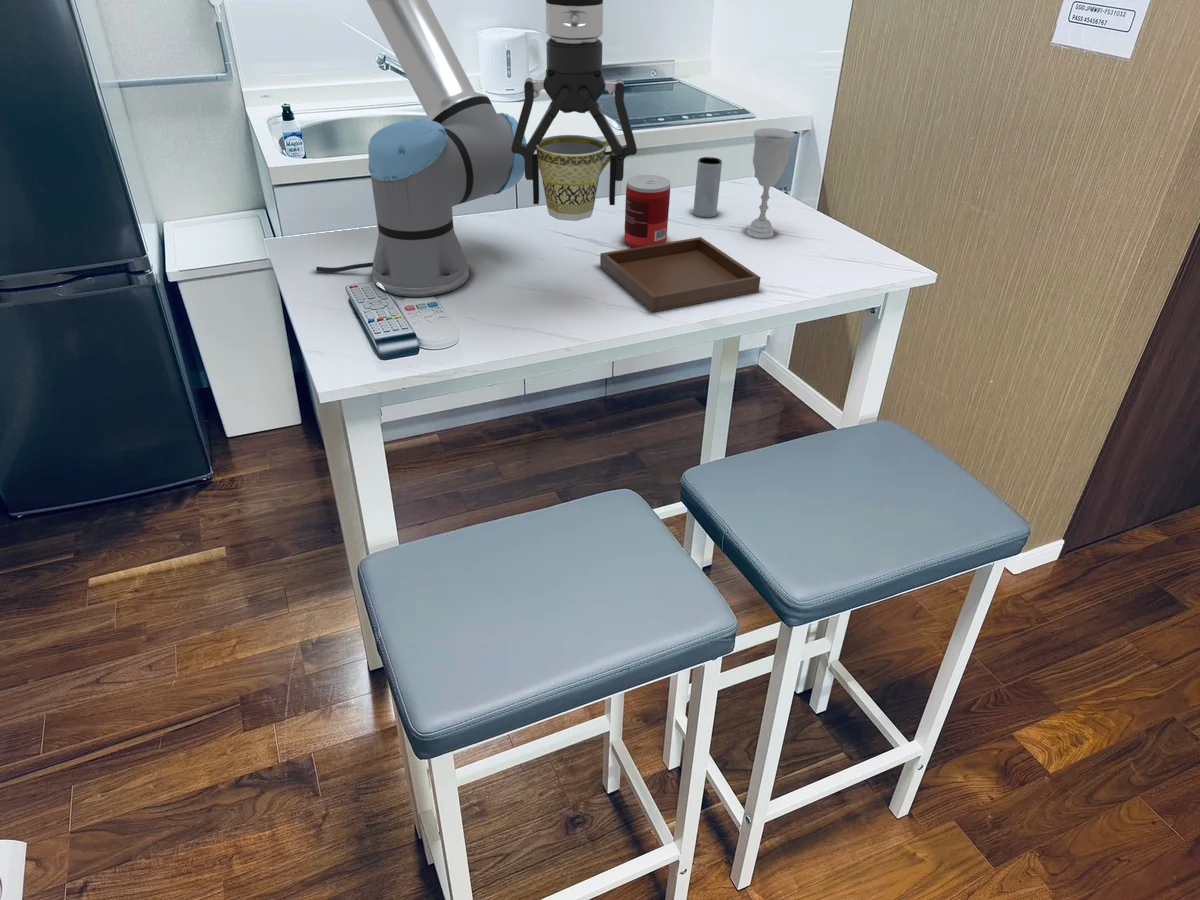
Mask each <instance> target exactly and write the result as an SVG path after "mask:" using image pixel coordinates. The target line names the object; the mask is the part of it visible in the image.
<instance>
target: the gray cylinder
mask: <svg viewBox="0 0 1200 900" xmlns="http://www.w3.org/2000/svg"><path fill="white" fill-rule="evenodd" d="M722 164H723V160H722V159H720V158H718V157H713V156H703V157H700V158H698V160H697V168H696V177H695V178H696V179H695V189H694V201H693V210H692V211H693V212H692V213H693V215H694V216H696V217H700V218H713V217H715V216H717V212H718V205H719V193H720V184H721V175H722V167H723V165H722Z"/></svg>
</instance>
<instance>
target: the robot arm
mask: <svg viewBox="0 0 1200 900" xmlns="http://www.w3.org/2000/svg"><path fill="white" fill-rule="evenodd" d="M366 2H367V4H368V7H369V8H370V10H371V12H372V14H373V15H374V17H375V20H376V21H377V23H378V25H379V27H380V28H381V31H382V32H383V35H384V37H385V38H386V40H387V42H388V44H389V46H390V49H392V51H393V53H394V55H395V57H396V59H397V61H398V63H399V65H400V67H401V68H402V70H403V72H404V74H405V76H406V77H407V80H408V82H409V84H410V85H411V88H412V89H413V91H414V93H415V94H416V97H417V99H418V101H419V102H420V104H421V107H422V108H423V111H424V112H425V114H426V116H427V119H413V120H411V121H408V120H402V121H399V122H394V123H392V124H389V125H387V126H384V127H382V128H380V129H378V130H377V131H375V132H374V134H373V135H372V136H371V137H370V139H369V142H368V146H367V151H368V167H367V168H368V171H369V174H370V178H371V186H372V194H373V200H374V209H375V216H376V224H377V230H378V236H377V242H376V247H375V250H374V251H375V252H374V257H373V261H371V262H364V263H363V262H362V263H356V264H350V265H349V264H348V265H345V266H338V267H325V266H316V267H315V270H316V272H323V273H339V272H345V271H351V270H356V269H364V268H372V270H371V273H372V280H373V284H374V283H377V282H379V283H381V284H382V285H383V286H384V288H385V290H386V291H387V292H388V293H387V292H386V293H387V294H391V295H396V296H399V297H408V298H409V297H411V298H412V297H413V298H414V297H415V298H418V297H419V298H420V297H422V298H423V297H431V296H438V295H442V294H446V293H449V292H451V291H454V290H456V289H458V288H460V287H461V286H463V285H464V284H465V283H466V282H467V281H468V279H469V264H468V261H467V258H466V256H465V254H464V251H463V248H462V247H461V244H460V242H459V238H458V237H457V234H456V231H455V228H454V217H453V207H455V206H458V205H461V204H466V203H468V202H471V201H474V200H478V199H481V198H484V197H487V196H491V195H498V194H500V193H502V192H504V191H505V190H508V189H511V188H513V187H515V186H516V185H517V184H518V183H519V182H520V181H521V180H522V178H523V176H524V177H525V180H526V181H532V197H533V199H532V203H533V205H539V204H540V179H539V178H540V168H539V163H538V158H537V153H535V152H536V145H539V144H540V142H541V140H542V139H544V138H545V135H546V134H547V132H548V130H549V128H550V127H551V125H552V124H553V122H554V120H555V119H556V117H557V116H558V114H559V112H562V113H563V114H570V113H573V112H575V113H578V114H586V113H588V112H589V113H590V115H591V116H592V118H593V120H594V121H595V123H596V125H597V127H598V129H599V130H600V132H601V133H602V135H603V137H604V139H605V141H607V142H608V144H609V146H608V147H610V150H611V149H612V151H613V153H614V155H610V154H609V156H610V162H609V187H608V188H609V191H608V192H609V193H608V201H609V206H616V182H623V179H624V172H625V171H624V170H625V169H624V168H625V159H626V158H627V157H629V156H635V155H636V154H637V152H638V149H637V143H636V140H635V137H634V133H633V129H632V125H631V122H630V119H629V115H628V111H627V107H626V104H625V100H624V99H625V83H624V81H623V80H622V79H621V78H618V79H616V80H615V81H613V80H605V79H604V77H603V42H602V41H601V40H600V39H599V38H600V37H601V36H602V35H603V34H604V33H603V32H604V0H545V17H546V18H545V27H546V28H545V31H546V32H545V34H547V35H548V37H549V38H548V39H547V41H546V46H545V47H546V75H545V77H544V79H532V78H531V77H528V78H525V80H524V85H523V86H524V87H523V90H524V99H523V100H524V101H523V104H522V108H521V111H520V115H519V118H518V120H517V119H516V118H515V117H514V116H511V115H509V114H508V113H504V112H498V113H497V111H496V109H495V106H494V105H493V103H492V101H491V99H490V98H489V96H488V95H487V94H483V93H481V92H477V91H475V89H474V86H473V85H472V83H471V81H470V79H469V77H468V76H467V74H466V71H465V70H464V68H463V66H462V63H461V62H460V60H459V59H458V56H457V54H456V52H455V51H454V49H453V47H452V45H451V43H450V41H449V39H448V37H447V35H446V33H445V32H444V31H445V30H444V29H443V28H442V26H441V23H440V21H439V20H438V18H437V16H436V14H435V12H434V10H433V8H432V7H431V4H430V3H429V1H428V0H366ZM542 90H544V91H545V92H546V94H547V95H548V97H549V99H550V100H551V102H550V103H549V105H548V107H547V109H546V111H545V113H544V114H543V116H542V117H541V119H540V121H539V123H538V125H537V126H536V128H535V129H534V132H533V133H532V135H531V137H530V138H529V140H528V141H527V139H526V136H525V133H526V131H527V130H526V129H527V126H528V124H529V123H528V122H529V119H530V116H531V113H532V110H533V104H534V100H535V99H536V98H538V97H539V96H540V93H541V91H542ZM605 91H607V92H608V95H609V98H610V99H613V100H614V103H615V108H616V112H617V115H618V119H619V123H620V126H621V129H622V132H623V137H624V140H625V141H624V142H625V144H624V145H622V143H620V141H619V139H618V137H617V135H616V134H615V132H614V130H613V128H612V127H611V125H610V123H609V121H608V119H607V118H606V115H605V114H604V112H603V111H602V109H601V106H600V104H599V103H598V100H599V99H600V97H601V96H602V95H603V93H604V92H605Z"/></svg>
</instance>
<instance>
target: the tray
mask: <svg viewBox="0 0 1200 900" xmlns="http://www.w3.org/2000/svg"><path fill="white" fill-rule="evenodd" d="M599 257H600V258H599V260H600V261H599V265H600V266H599V268H600V269H601V270H602V271H604V272H605V273H606V274H607V275H608V276H610V278H612V279H613V280H614V281H615V282H616V283H617V284H619V285H620V286H621V287H622V288H623V289H624V290H626V291H627V292H628V293H629V294H630V295H631V296H632V297H633V298H634V299H636V300H637V301H638V302H639V303H640V304H642V306H644V307H645V308H646V309H647V310H648V311H650V312H651V313H656V312H662V311H665V310H671V309H677V308H681V307H688V306H693V305H699V304H703V303H707V302H713V301H717V300H722V299H728V298H733V297H739V296H742V295H743V296H744V295H749V294H754V293H758V292H759V291H760V284H761V276H759V275H758V274H756V273H755V272H754V271H752V270H750V269H749V268H748V267H746V266H744V264H741V263H740V262H739V261H737V260H736V259H734V258H733V257H731V256H730V255H729V254H727V253H726V252H724V251H722V250H721V249H720V248H718V247H717V246H715V245H714V244H712V243H711V242H709V241H707V240H706V239H705V238H703V237H702V236H698V237H693V238H687V239H680V240H674V241H666V242H665V243H661V244H655V245H649V246H643V247H636V248H632V247H630V248H625V249H618V250H613V251H607V252H606V251H605V252H600V256H599Z"/></svg>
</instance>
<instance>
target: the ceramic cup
mask: <svg viewBox="0 0 1200 900" xmlns="http://www.w3.org/2000/svg"><path fill="white" fill-rule="evenodd" d="M607 147H610V146H609V144H608V142H607V140H605V141H604V140H601V139H599V138H596V137H592V136H589V135H588V136H587V135H580V134H559V135H552V136H547V137H543V139H542V140H541V142H540V144H539V145H536V150H535V152H536V154H537V158H538V165H539V173H540V175H541V179H542V186H543V192H544V197H545V201H546V203H545V204H546V208H547V212H548V215H549V217H553V218H554V219H556V220H559V221H571V222H572V221H573V222H574V221H575V222H578V221H582V220H585V219H590V218H591V216H592V215H593V212H594V208H595V202H596V197H597V196H596V195H597V190H598V185H599V181H600V176H601V174H602V172H603V171H604V169H605V168H606V167H607V165H608V164H610V155H615V154H614V153H613V151H612V149H611V148H610V154H609V156H608V157H607V158H606V160H605V156H606V151H607Z"/></svg>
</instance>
